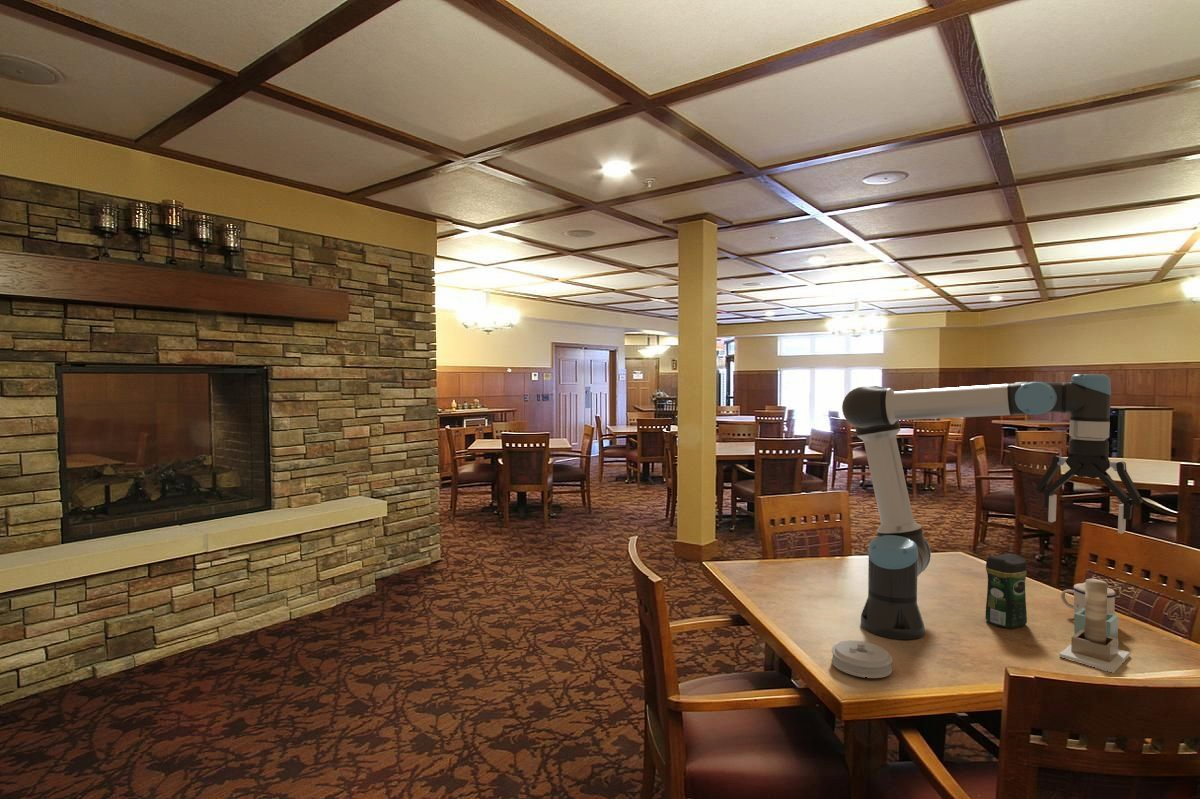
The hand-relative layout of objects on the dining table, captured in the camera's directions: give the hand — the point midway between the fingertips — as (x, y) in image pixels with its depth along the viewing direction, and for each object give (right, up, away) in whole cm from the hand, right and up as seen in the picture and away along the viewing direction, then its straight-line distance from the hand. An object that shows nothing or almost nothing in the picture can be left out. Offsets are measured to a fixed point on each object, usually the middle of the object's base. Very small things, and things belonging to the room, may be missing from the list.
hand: (1085, 527), depth 149 cm
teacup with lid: (+17, -30, +21) cm, 40 cm away
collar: (0, -30, -2) cm, 30 cm away
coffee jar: (-7, -30, +18) cm, 36 cm away
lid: (-57, -31, -8) cm, 66 cm away
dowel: (0, -29, -2) cm, 29 cm away
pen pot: (+9, -30, +9) cm, 33 cm away
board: (0, -30, -2) cm, 30 cm away
